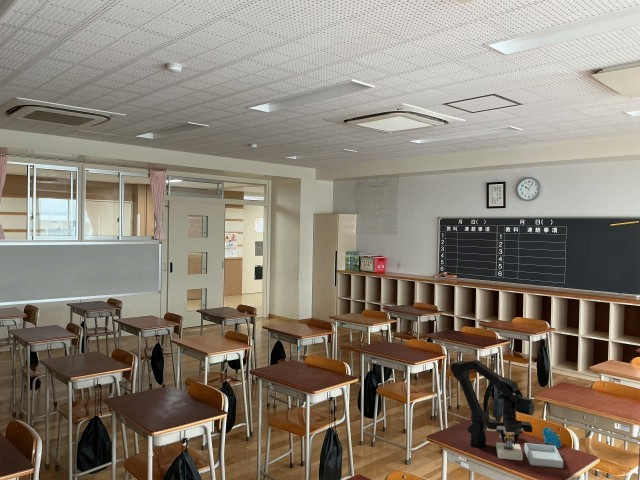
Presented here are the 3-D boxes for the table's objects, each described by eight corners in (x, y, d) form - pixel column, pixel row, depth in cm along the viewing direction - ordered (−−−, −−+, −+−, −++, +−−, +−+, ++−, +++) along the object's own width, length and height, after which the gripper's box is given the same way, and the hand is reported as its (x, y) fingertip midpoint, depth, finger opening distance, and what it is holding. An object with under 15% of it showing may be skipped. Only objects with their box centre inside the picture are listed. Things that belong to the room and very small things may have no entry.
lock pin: (504, 456, 232) (504, 436, 232) (503, 452, 236) (503, 432, 236) (514, 457, 231) (515, 436, 231) (513, 452, 235) (513, 433, 235)
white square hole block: (498, 458, 230) (498, 451, 230) (496, 448, 239) (496, 442, 239) (522, 460, 227) (522, 453, 227) (519, 450, 237) (519, 444, 237)
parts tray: (530, 465, 223) (530, 458, 223) (524, 449, 239) (524, 443, 238) (563, 468, 220) (563, 461, 220) (555, 452, 236) (555, 445, 236)
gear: (552, 447, 237) (540, 426, 243) (543, 453, 240) (532, 432, 247) (567, 446, 242) (556, 425, 249) (559, 452, 245) (547, 431, 252)
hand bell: (479, 429, 263) (480, 397, 263) (486, 424, 270) (486, 393, 269) (496, 433, 258) (496, 401, 258) (502, 428, 264) (502, 396, 264)
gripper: (488, 414, 227) (488, 449, 228) (534, 417, 223) (534, 454, 223) (486, 405, 238) (486, 439, 238) (530, 409, 234) (530, 443, 234)
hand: (509, 444), depth 233 cm, fingers closed on lock pin, 4 cm apart
